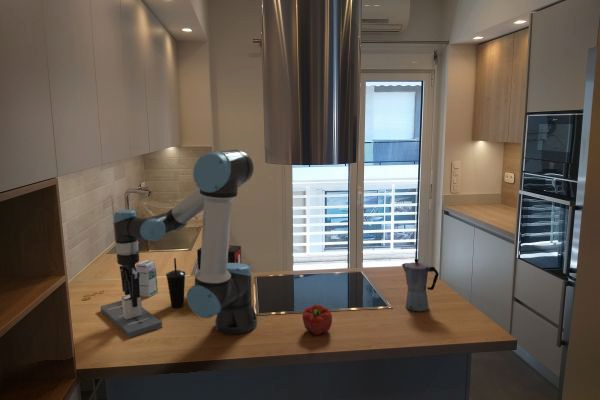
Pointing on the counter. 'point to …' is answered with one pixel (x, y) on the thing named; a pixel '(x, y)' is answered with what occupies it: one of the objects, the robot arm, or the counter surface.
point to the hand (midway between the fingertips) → (132, 312)
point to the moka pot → (418, 285)
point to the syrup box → (147, 278)
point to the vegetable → (317, 319)
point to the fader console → (130, 320)
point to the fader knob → (127, 307)
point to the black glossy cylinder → (176, 286)
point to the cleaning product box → (233, 255)
